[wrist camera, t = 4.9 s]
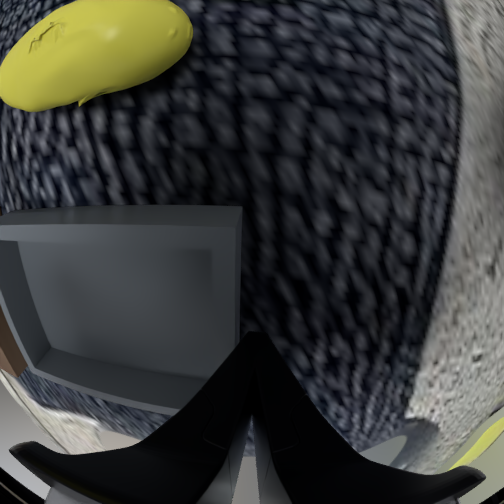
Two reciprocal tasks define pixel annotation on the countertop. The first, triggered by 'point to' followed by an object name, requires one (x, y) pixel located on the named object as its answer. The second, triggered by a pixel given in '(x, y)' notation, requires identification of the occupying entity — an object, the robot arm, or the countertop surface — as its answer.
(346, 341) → the countertop surface
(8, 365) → the rail
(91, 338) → the tray
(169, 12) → the lemon
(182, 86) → the countertop surface
